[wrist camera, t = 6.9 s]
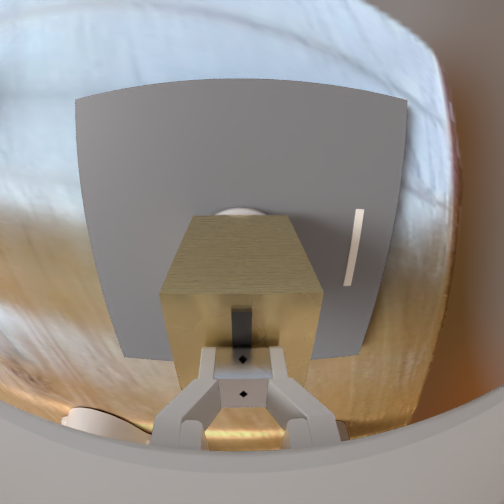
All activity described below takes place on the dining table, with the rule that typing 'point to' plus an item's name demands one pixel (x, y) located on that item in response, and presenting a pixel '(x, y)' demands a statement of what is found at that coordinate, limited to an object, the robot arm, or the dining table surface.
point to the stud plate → (240, 189)
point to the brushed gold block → (241, 292)
